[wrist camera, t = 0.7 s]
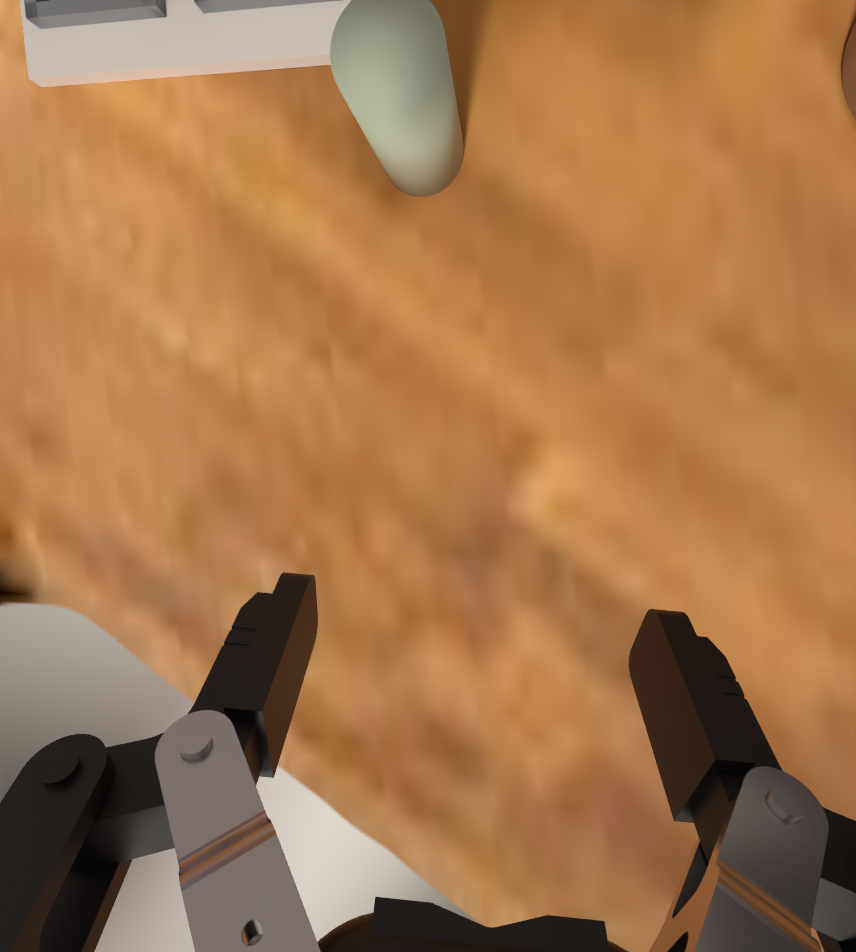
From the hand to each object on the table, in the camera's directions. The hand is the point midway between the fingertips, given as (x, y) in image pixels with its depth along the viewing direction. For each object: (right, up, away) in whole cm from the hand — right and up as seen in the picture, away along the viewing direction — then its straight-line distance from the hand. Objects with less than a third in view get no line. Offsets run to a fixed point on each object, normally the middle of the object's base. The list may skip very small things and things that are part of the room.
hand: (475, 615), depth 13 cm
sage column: (-1, +23, +19) cm, 30 cm away
